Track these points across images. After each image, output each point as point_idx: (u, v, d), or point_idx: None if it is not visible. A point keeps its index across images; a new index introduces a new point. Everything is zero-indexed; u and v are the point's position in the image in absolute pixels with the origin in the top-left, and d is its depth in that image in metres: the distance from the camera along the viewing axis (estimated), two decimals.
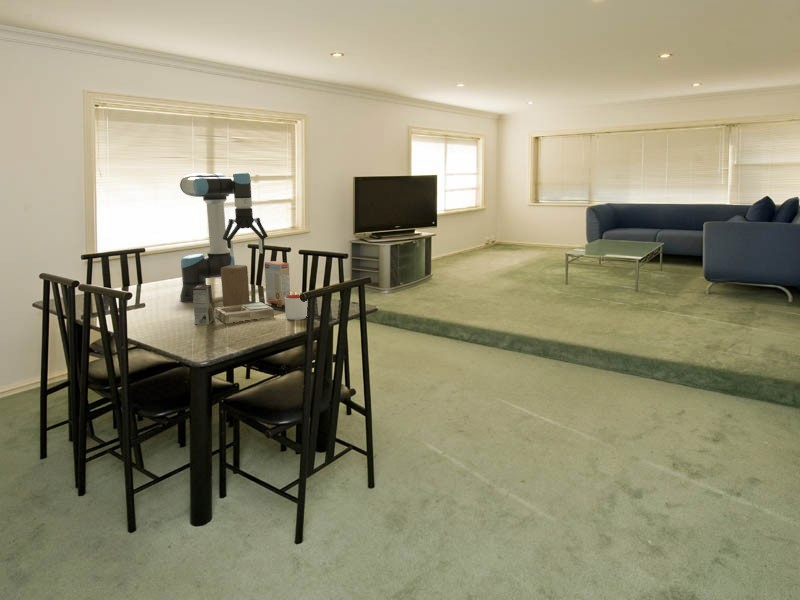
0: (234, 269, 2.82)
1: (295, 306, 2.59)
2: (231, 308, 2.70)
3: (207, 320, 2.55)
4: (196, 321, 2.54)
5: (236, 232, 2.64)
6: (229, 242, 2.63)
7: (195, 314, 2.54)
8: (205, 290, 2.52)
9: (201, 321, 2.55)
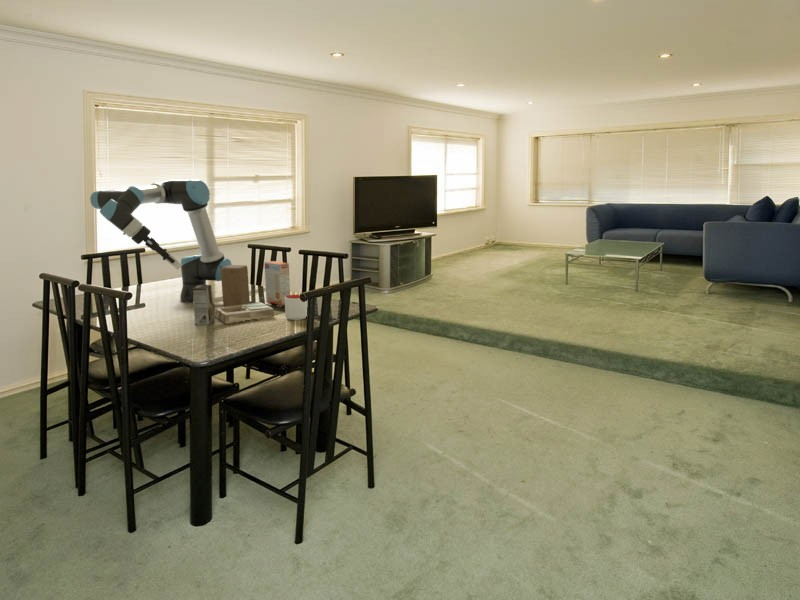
0: (234, 269, 2.82)
1: (295, 306, 2.59)
2: (231, 308, 2.70)
3: (207, 320, 2.55)
4: (196, 321, 2.54)
5: None
6: None
7: (195, 314, 2.54)
8: (205, 290, 2.52)
9: (201, 321, 2.55)
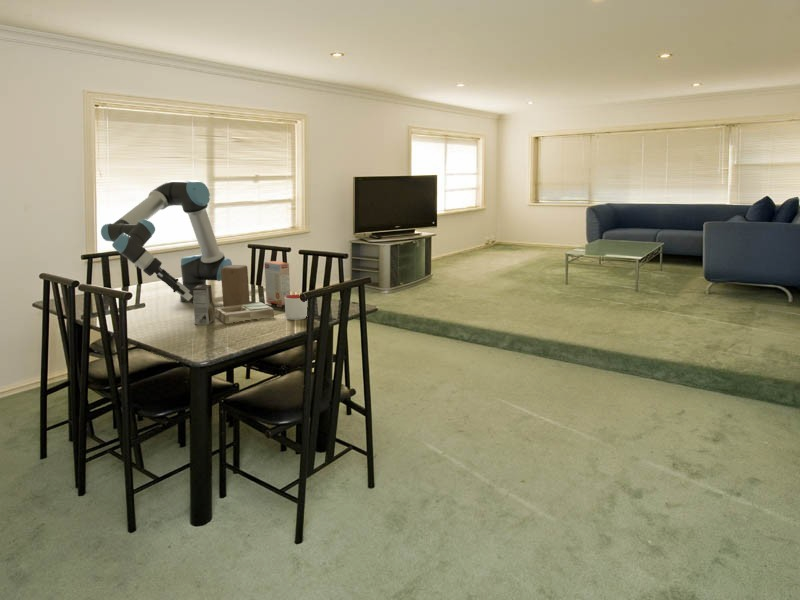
0: (234, 269, 2.82)
1: (295, 306, 2.59)
2: (231, 308, 2.70)
3: (207, 320, 2.55)
4: (196, 321, 2.54)
5: None
6: None
7: (195, 314, 2.54)
8: (205, 290, 2.52)
9: (201, 321, 2.55)
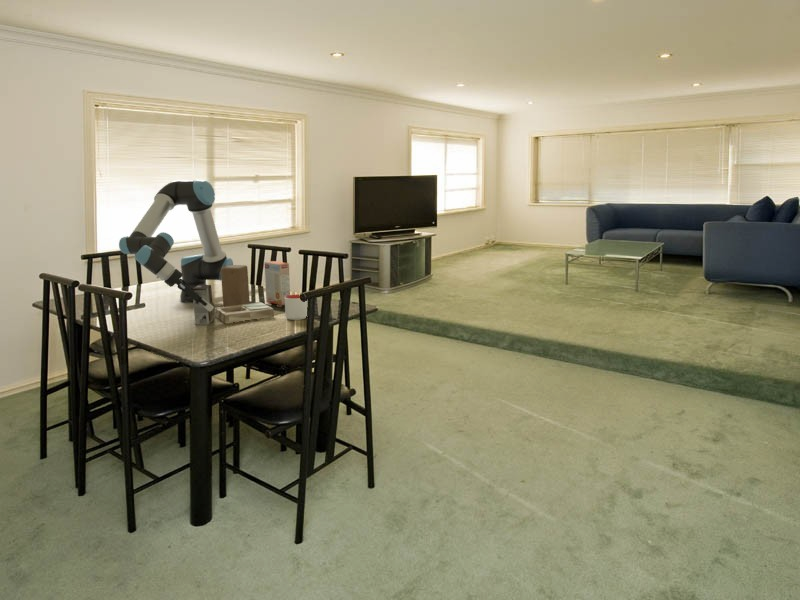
0: (234, 269, 2.82)
1: (295, 306, 2.59)
2: (231, 308, 2.70)
3: (207, 320, 2.55)
4: (196, 321, 2.54)
5: None
6: None
7: (195, 314, 2.54)
8: (205, 290, 2.52)
9: (202, 321, 2.55)
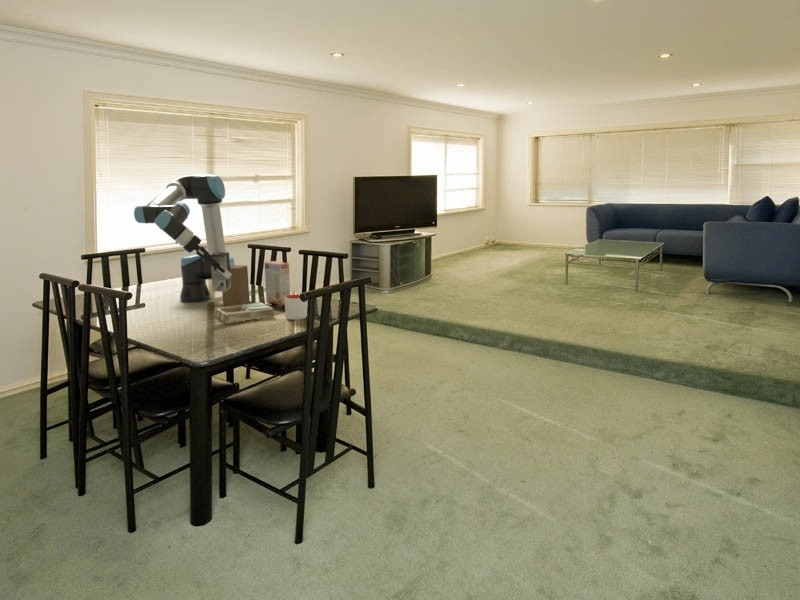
0: (234, 269, 2.82)
1: (295, 306, 2.59)
2: (231, 308, 2.70)
3: (224, 287, 2.55)
4: (214, 288, 2.55)
5: None
6: None
7: (213, 281, 2.54)
8: (223, 257, 2.52)
9: (219, 288, 2.55)
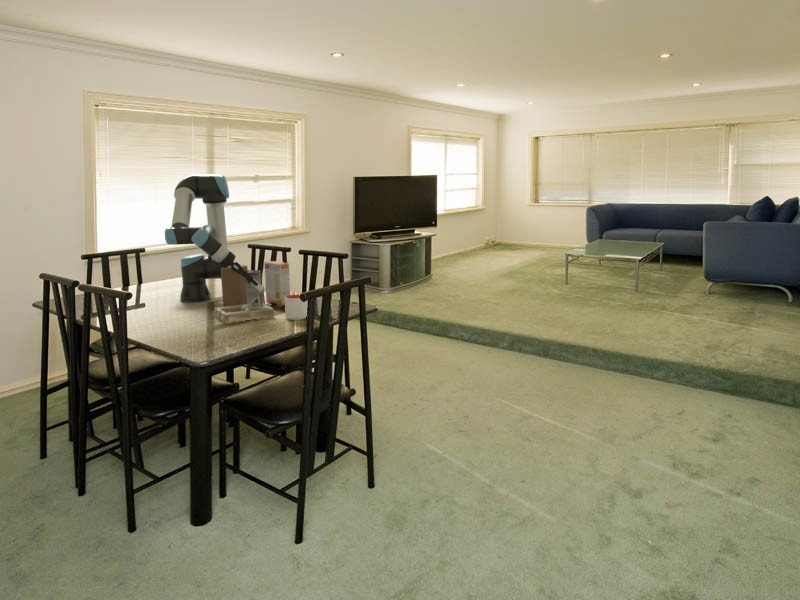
0: None
1: (295, 306, 2.59)
2: (231, 308, 2.70)
3: (259, 304, 2.66)
4: (248, 305, 2.66)
5: None
6: None
7: (248, 298, 2.65)
8: (258, 275, 2.63)
9: (254, 304, 2.66)
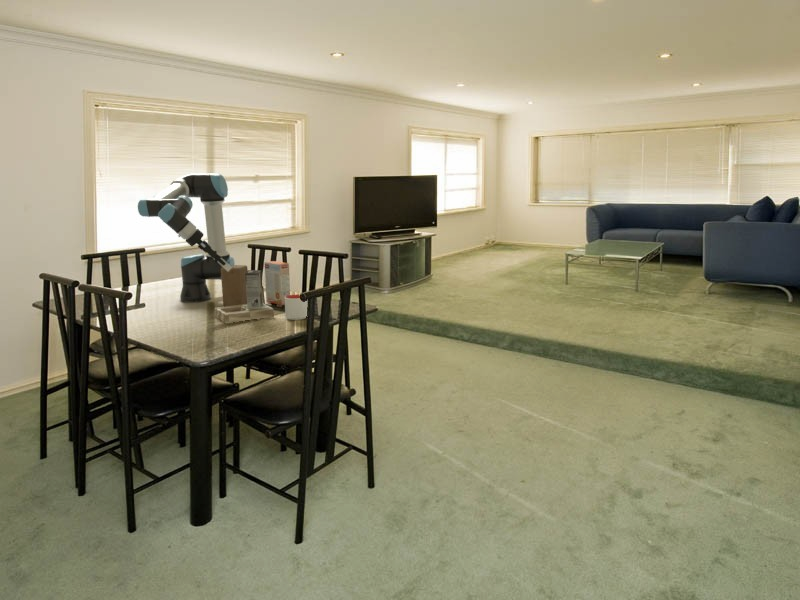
0: (234, 269, 2.82)
1: (295, 306, 2.59)
2: (231, 308, 2.70)
3: (259, 304, 2.66)
4: (248, 305, 2.66)
5: None
6: None
7: (248, 298, 2.65)
8: (258, 275, 2.63)
9: (254, 304, 2.66)
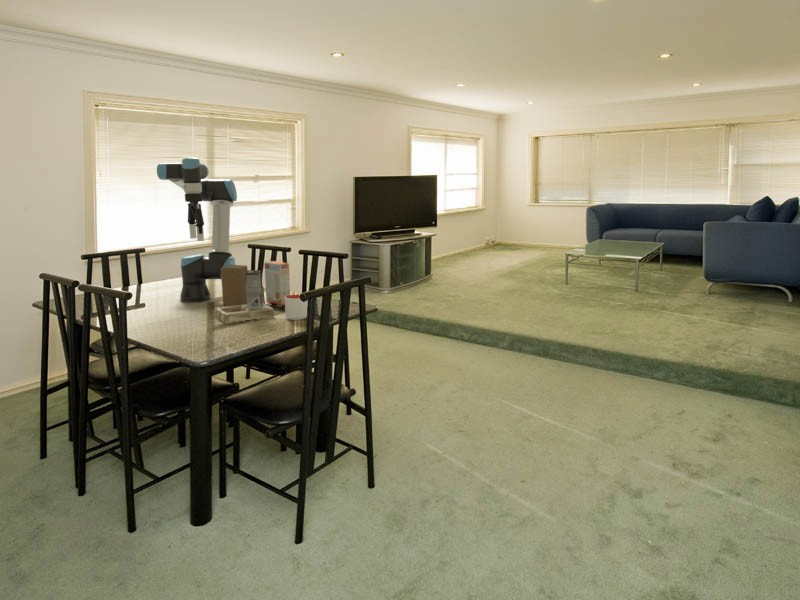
0: (234, 269, 2.82)
1: (295, 306, 2.59)
2: (231, 308, 2.70)
3: (259, 304, 2.66)
4: (248, 305, 2.66)
5: (190, 216, 2.71)
6: None
7: (248, 298, 2.65)
8: (258, 275, 2.63)
9: (254, 304, 2.66)
